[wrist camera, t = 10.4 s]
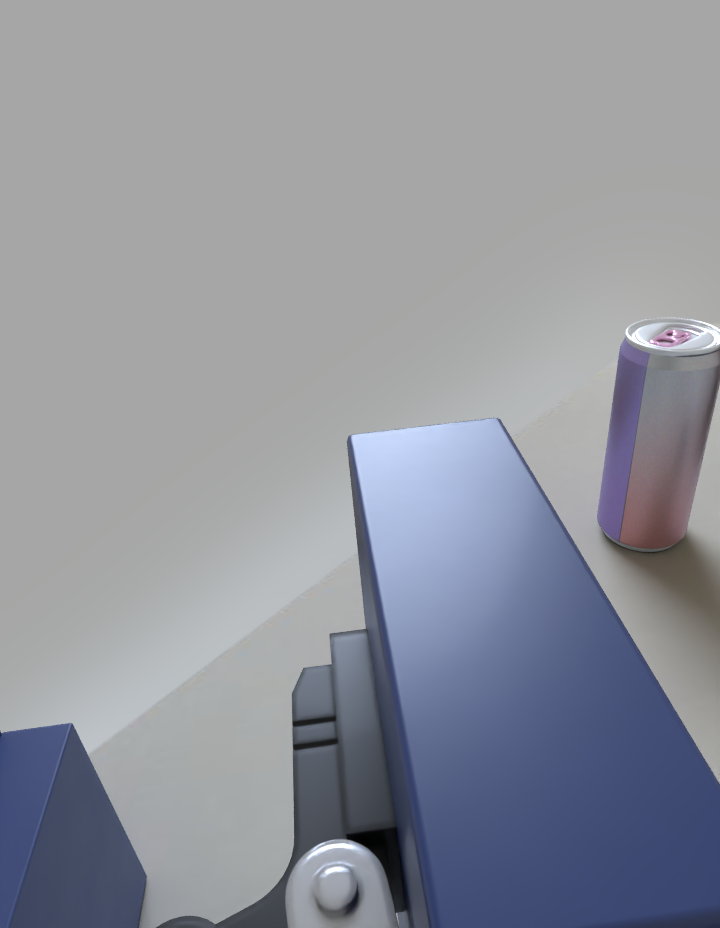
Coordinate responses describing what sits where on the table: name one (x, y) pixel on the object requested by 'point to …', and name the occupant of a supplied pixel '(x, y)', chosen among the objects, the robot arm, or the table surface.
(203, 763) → the table surface
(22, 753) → the navy books
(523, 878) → the navy book
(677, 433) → the beverage can
